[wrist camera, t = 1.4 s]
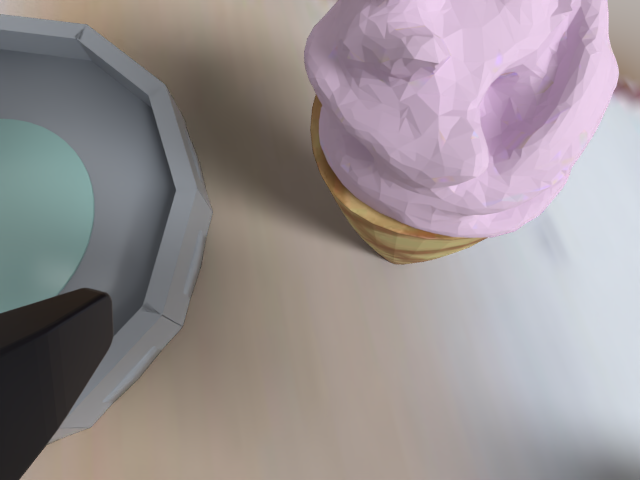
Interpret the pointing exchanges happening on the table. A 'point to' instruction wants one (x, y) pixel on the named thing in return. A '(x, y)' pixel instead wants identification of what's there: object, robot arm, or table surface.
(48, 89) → the round tray
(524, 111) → the ice cream cone
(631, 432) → the table surface
